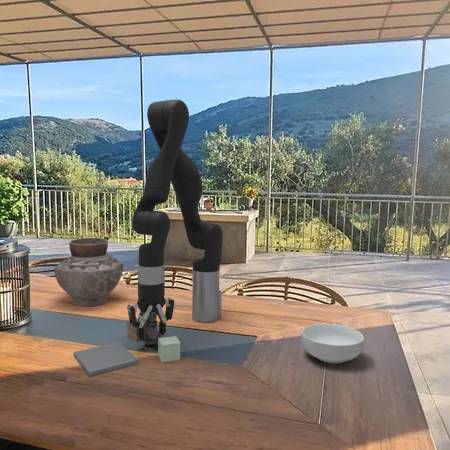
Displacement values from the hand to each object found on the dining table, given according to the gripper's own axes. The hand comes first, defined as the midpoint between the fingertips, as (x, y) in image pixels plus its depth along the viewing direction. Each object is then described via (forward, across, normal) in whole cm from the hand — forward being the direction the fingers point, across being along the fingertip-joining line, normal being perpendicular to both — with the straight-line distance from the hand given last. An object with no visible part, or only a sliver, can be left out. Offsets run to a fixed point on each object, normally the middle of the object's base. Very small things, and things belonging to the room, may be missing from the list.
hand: (151, 336), depth 124 cm
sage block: (+3, -1, +9) cm, 10 cm away
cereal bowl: (+3, -39, +33) cm, 51 cm away
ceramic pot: (+3, +2, -50) cm, 50 cm away
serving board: (+3, +14, +1) cm, 14 cm away
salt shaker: (+3, 0, 0) cm, 3 cm away
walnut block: (+3, 0, -9) cm, 10 cm away
